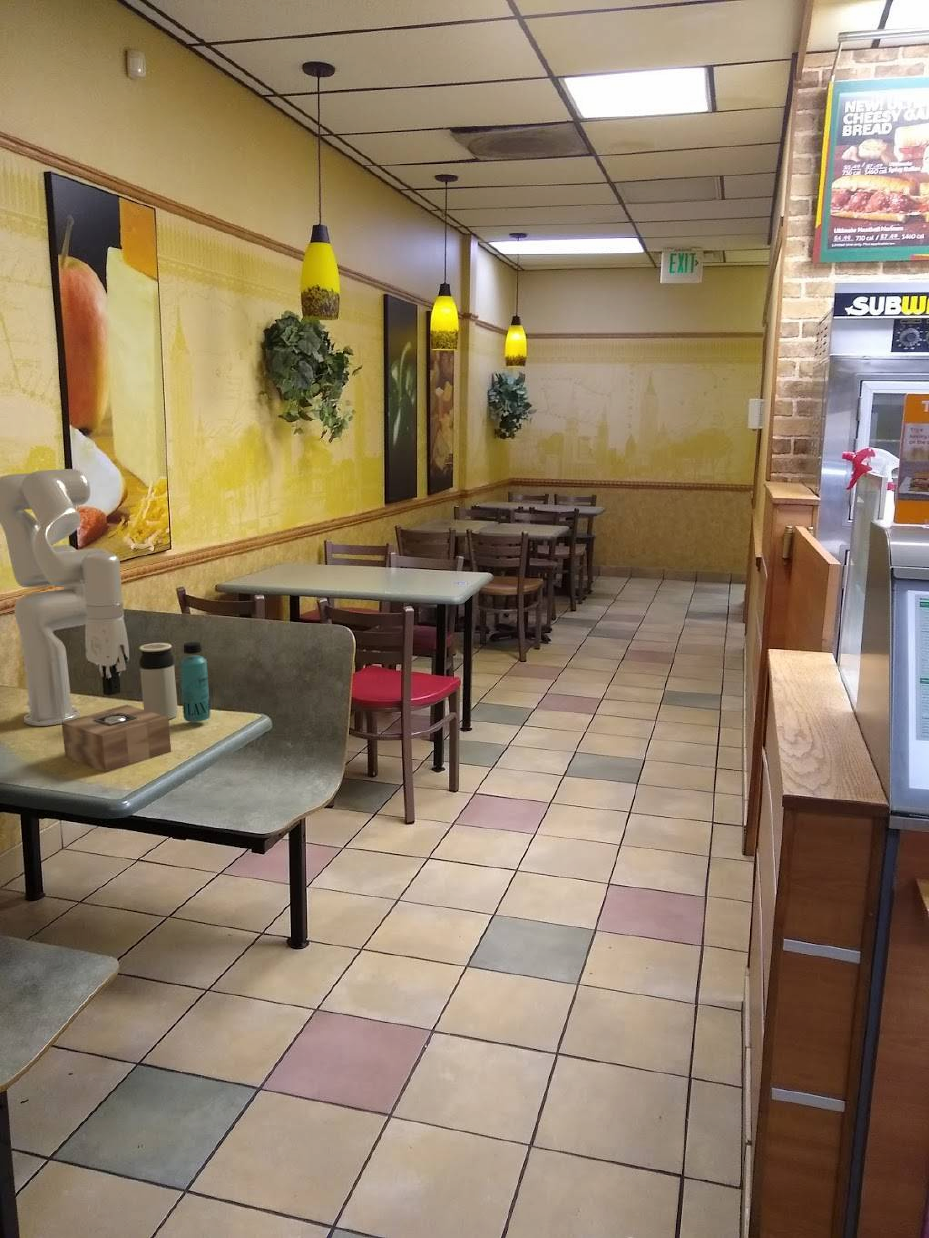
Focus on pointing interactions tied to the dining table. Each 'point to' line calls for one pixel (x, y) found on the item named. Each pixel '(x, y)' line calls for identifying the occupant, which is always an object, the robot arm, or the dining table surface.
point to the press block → (116, 738)
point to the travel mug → (158, 679)
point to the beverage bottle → (194, 684)
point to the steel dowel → (115, 719)
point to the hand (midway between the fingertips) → (112, 693)
